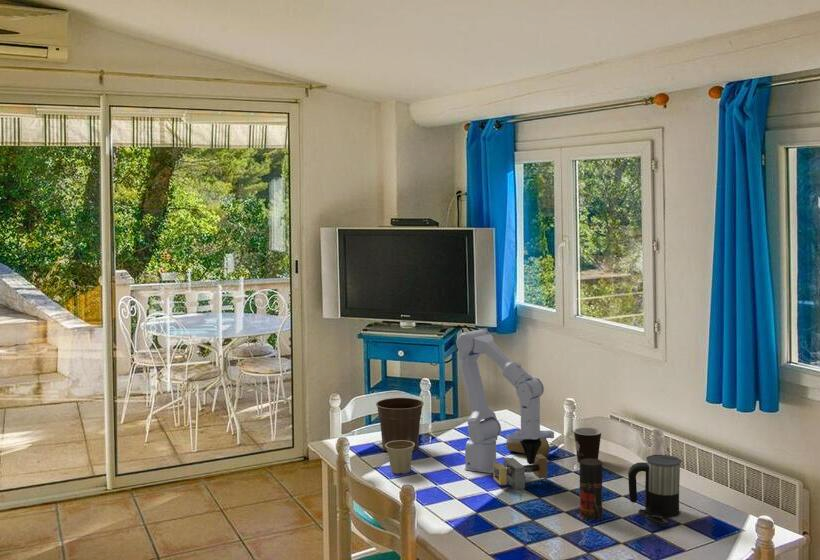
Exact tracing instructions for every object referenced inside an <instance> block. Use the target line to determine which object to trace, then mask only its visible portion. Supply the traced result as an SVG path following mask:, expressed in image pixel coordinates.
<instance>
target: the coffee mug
mask: <svg viewBox="0 0 820 560" xmlns="http://www.w3.org/2000/svg"><path fill="white" fill-rule="evenodd" d="M573 433H574V441H575V450H576V459H577V463H579V464H580V460H582V459H587V458H592V459H598V460H599V455H600V447H601V446H600V445H601V438H602V430H601V429H598V428H595V427H579V428H575V429H574V430H573Z"/></svg>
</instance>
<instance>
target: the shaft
mask: <svg viewBox="0 0 820 560" xmlns="http://www.w3.org/2000/svg"><path fill="white" fill-rule="evenodd" d="M522 465H523V466H524V467H525V474H527V473H533V474H534V475H535V476H536V477H538V479H545V478H547V479H548V458H547V457H546V456H543V455H542V454H536V457H535V461H534V464H525V465H524V464H522ZM506 468H507V475H510V474H511V467H506ZM494 475H495V476H499V470H498V469H497V468H496V469H494Z"/></svg>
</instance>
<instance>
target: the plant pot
mask: <svg viewBox="0 0 820 560" xmlns="http://www.w3.org/2000/svg"><path fill="white" fill-rule="evenodd" d="M375 406H376V407H377V415H378V417H379V424H380V433H381V434H380V435H381V443H382V444H381V445H382V450H383V449H384V450H383V451H385V452H386V451H387V449H386V447H385V444H386V443H388V442H391V441H398V440H405V441H411V442H413V443H414V444H415V446H414V448H413V452H415V450H416V449H418V448H419V440H420V439H419V438H420V425H421V415H422V410H423V406H424V401H423V400H421V399H417V398H411V397H390V398H384V399H380V400H378V401H377V402H376V403H375ZM416 451H417V450H416Z"/></svg>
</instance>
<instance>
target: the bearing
mask: <svg viewBox="0 0 820 560" xmlns="http://www.w3.org/2000/svg"><path fill="white" fill-rule="evenodd" d="M503 465H504V466H505V467H511V474H510V475H507V484H508V485H509V486H510V487H512V488H513V489H514V490H525V489H526V473H525V467H524V466H523V465H524V464H521V462H519V461H517V459H515V458H514V457H508V458H507V457H506V458H503Z"/></svg>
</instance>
